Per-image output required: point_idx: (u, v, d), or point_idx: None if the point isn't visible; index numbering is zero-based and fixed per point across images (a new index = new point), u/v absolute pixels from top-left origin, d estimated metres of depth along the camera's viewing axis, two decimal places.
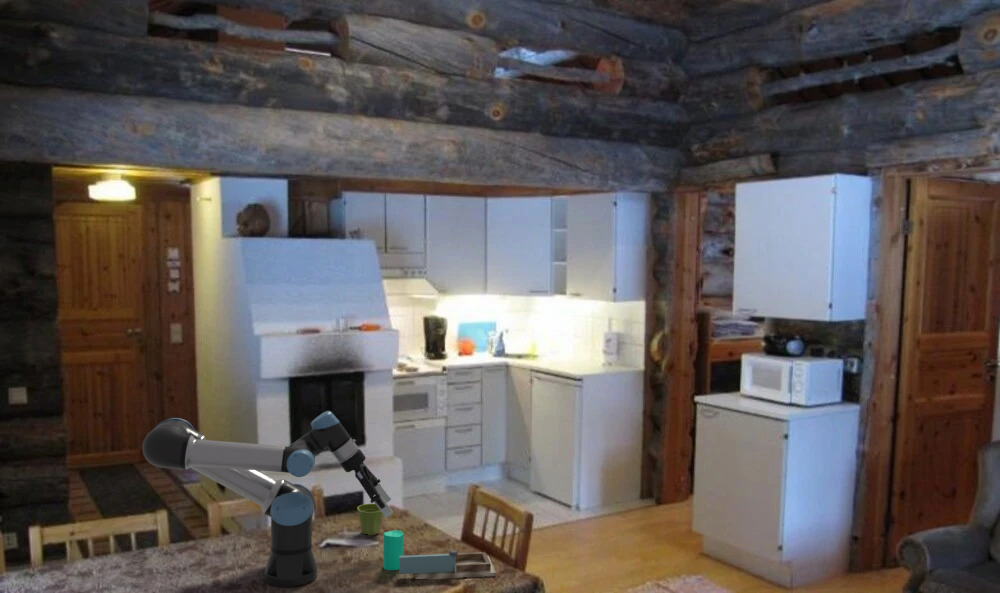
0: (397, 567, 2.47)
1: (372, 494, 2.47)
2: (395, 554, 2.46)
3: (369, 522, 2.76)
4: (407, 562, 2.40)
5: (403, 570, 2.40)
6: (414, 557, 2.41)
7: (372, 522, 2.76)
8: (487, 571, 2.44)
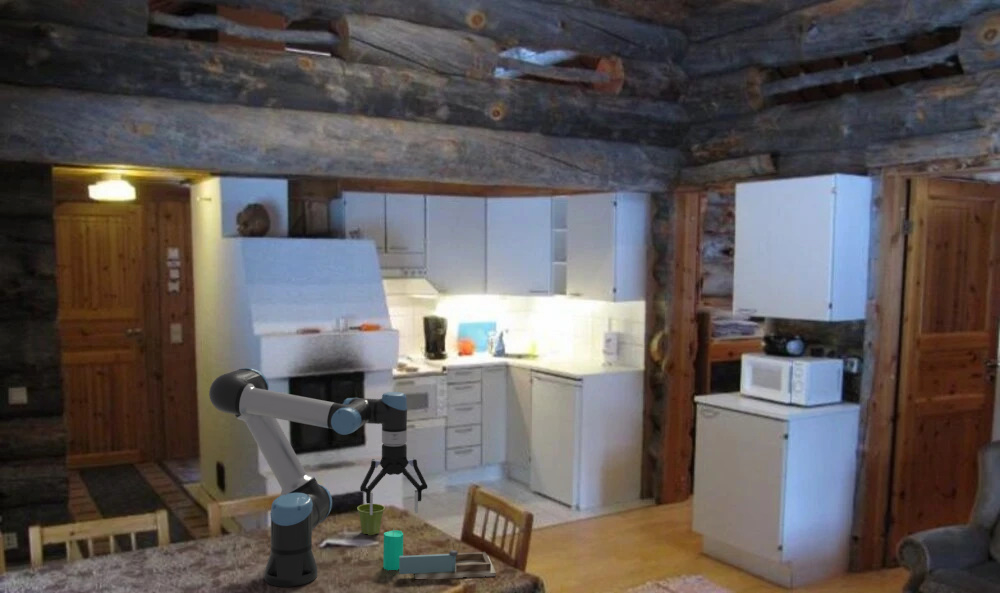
0: (397, 567, 2.47)
1: (362, 484, 2.46)
2: (395, 554, 2.46)
3: (369, 522, 2.76)
4: (407, 562, 2.40)
5: (403, 570, 2.40)
6: (414, 557, 2.41)
7: (372, 522, 2.76)
8: (487, 571, 2.44)
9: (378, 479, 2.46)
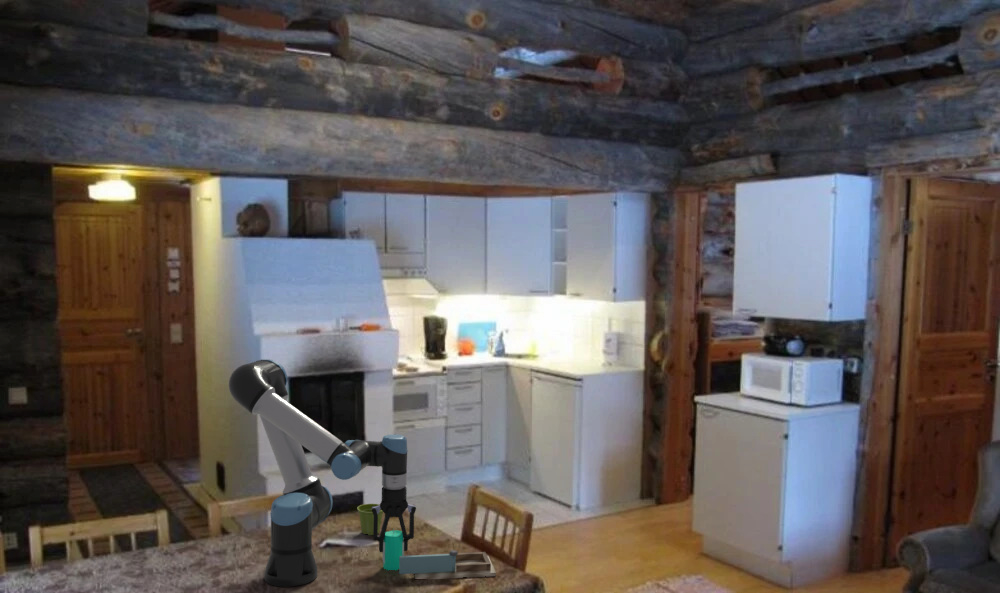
0: (397, 567, 2.47)
1: (373, 533, 2.47)
2: (395, 554, 2.46)
3: (369, 522, 2.76)
4: (407, 562, 2.40)
5: (403, 570, 2.40)
6: (414, 557, 2.41)
7: (372, 522, 2.76)
8: (487, 571, 2.44)
9: (385, 525, 2.47)
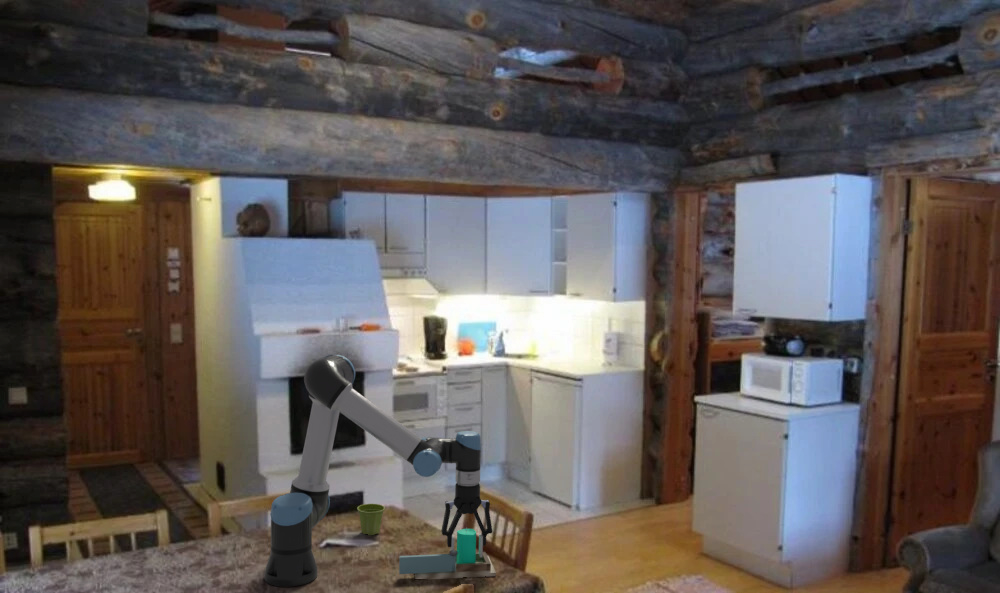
0: None
1: (442, 528, 2.47)
2: (469, 552, 2.46)
3: (369, 522, 2.76)
4: (407, 562, 2.40)
5: (403, 570, 2.40)
6: (414, 557, 2.41)
7: (372, 522, 2.76)
8: (487, 571, 2.44)
9: (456, 521, 2.47)
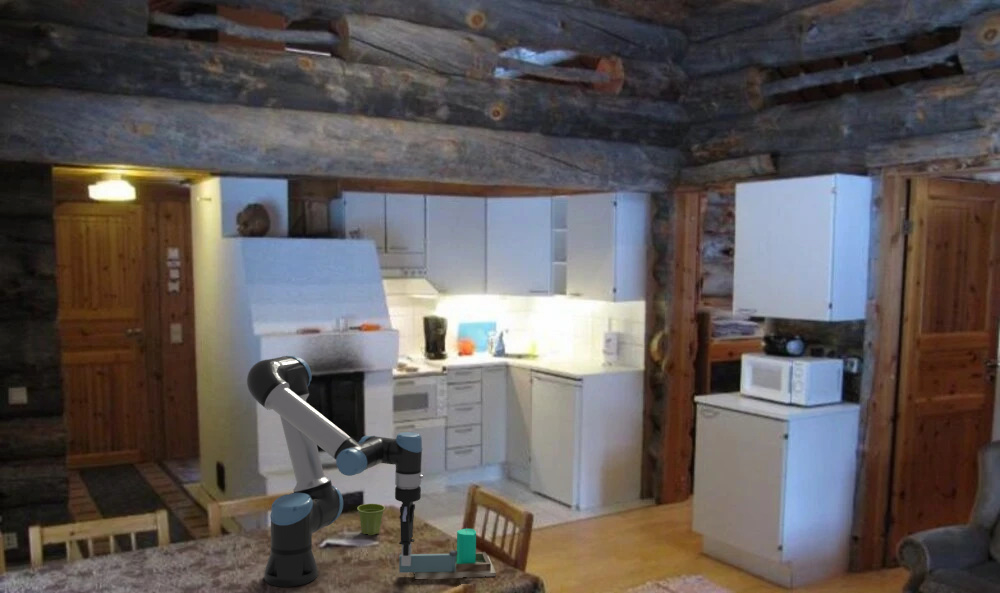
0: None
1: (404, 539, 2.36)
2: (469, 552, 2.46)
3: (369, 522, 2.76)
4: None
5: (403, 569, 2.41)
6: (414, 556, 2.42)
7: (372, 522, 2.76)
8: (487, 571, 2.44)
9: (410, 527, 2.39)
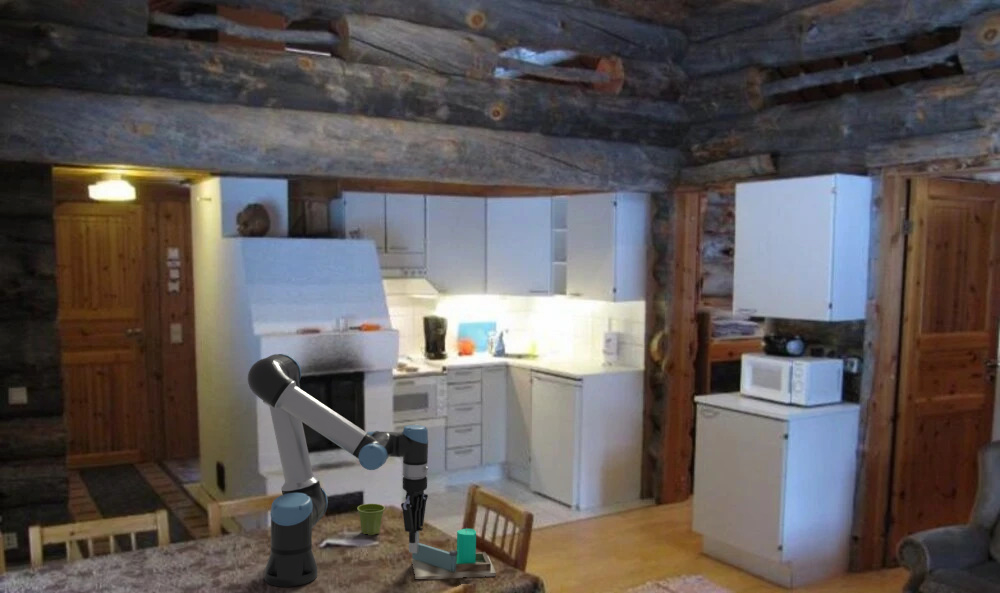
0: None
1: (407, 527, 2.47)
2: (469, 552, 2.46)
3: (369, 522, 2.76)
4: None
5: (415, 556, 2.52)
6: (423, 546, 2.50)
7: (372, 522, 2.76)
8: (487, 571, 2.44)
9: (415, 515, 2.49)
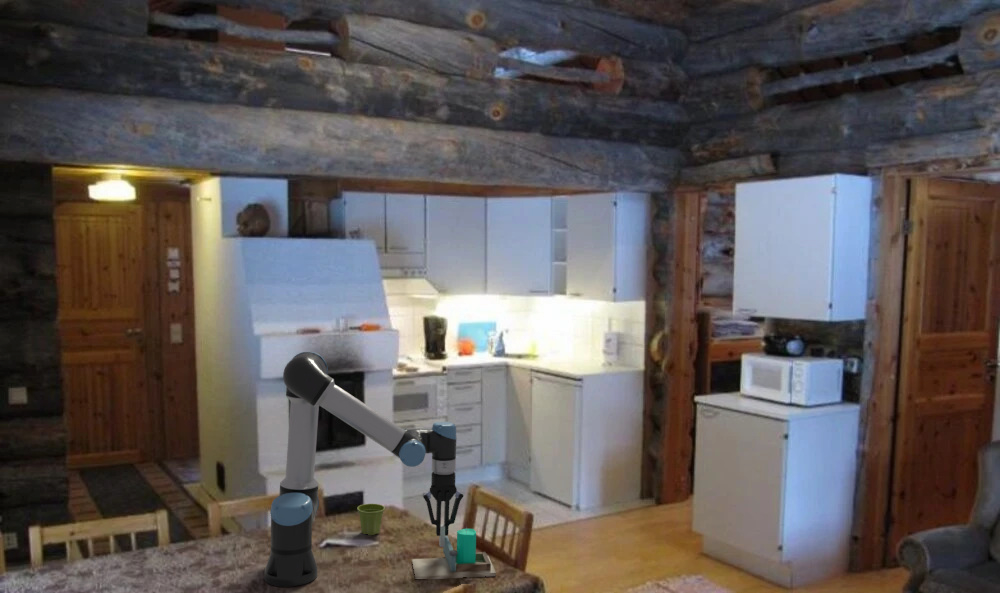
0: None
1: (430, 518, 2.57)
2: (469, 552, 2.46)
3: (369, 522, 2.76)
4: None
5: (443, 549, 2.58)
6: (445, 541, 2.55)
7: (372, 522, 2.76)
8: (487, 571, 2.44)
9: (439, 509, 2.56)
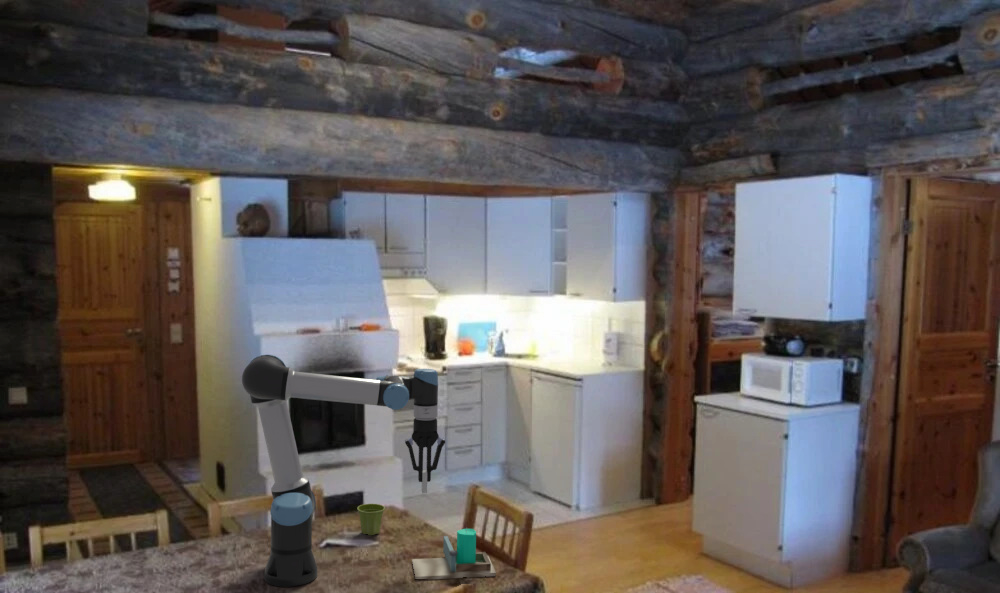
0: None
1: (412, 464, 2.58)
2: (469, 552, 2.46)
3: (369, 522, 2.76)
4: (444, 543, 2.57)
5: (443, 549, 2.58)
6: (445, 541, 2.55)
7: (372, 522, 2.76)
8: (487, 571, 2.44)
9: (421, 455, 2.57)
